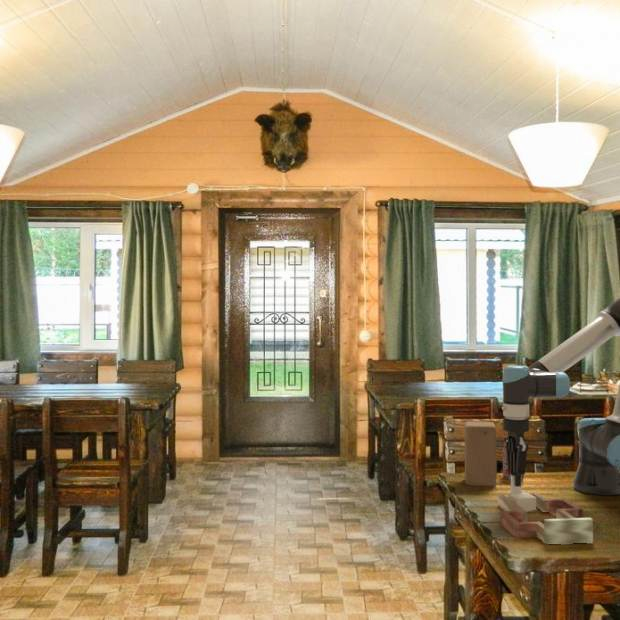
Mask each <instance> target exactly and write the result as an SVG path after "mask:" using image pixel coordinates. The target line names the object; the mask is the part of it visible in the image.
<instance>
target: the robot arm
mask: <svg viewBox="0 0 620 620" xmlns="http://www.w3.org/2000/svg"><path fill="white" fill-rule="evenodd" d="M612 337H620V297H619V298H617V299H616V300H614V301H613V302H612V303H610V304H609V305H607V306H606V307H604V308H603V309H602V310H600V311H599V312H598V314H597V317H596V318H595V319H593V320H592V321H591V322H590V323H588V324H587V325H586V326H584V327H582V328H581V329H580V330H578V331H577V332H575V333H574V334H573V335H572V336H570V337H569V338H568V339H566V340H565V341H563V342H562V343H561V344H559V345H558V346H556V347H555V348H554V349H552V350H550V352H548V353H546V354H545V355H544V356H542V357H541V358H540V359H538V360H537V361H535V362H533V363H532V364H531V365H529V366H527V365H507V366H505V367H504V368H503V371H502V405H503V406H501V410H502V415H503V419H502V429H503V431H505V432H507V436H504V445H505V444H506V454H507V465H508V470H510V473H511V480H510V493H521V492H522V491H523V490H522V475H524V476H525V474H526V465H527V455H528V451H529V444H526V439H525V433H527V432H529V431H530V419H529V418H530V398H531V399H532V398H564V397H565V398H566V397H567V396H568V395H569V393H570V389H571V382H570V377H569V376H568V374H567V373H566V372H565V371H567V370H568V369H569V368H571V367H572V366H574V365H575V364H577V363H578V362H580V361H581V360H582V359H584V358H585V357H586V356H588V355H589V354H590V353H592V352H594V351H596V349H598V348H599V347H600V346H602V345H603V344H604V343H606V342H607V341H609V340H610V339H611V338H612ZM613 407H614V408H613V412H612V414H610V415H608V416H607V417H589V418H588V417H586V418H581V419H580V420H579V424H578V425H579V426H578V466H577V470H576V473H575V475H574V478H573V488H574V490H575V491H578V492H581V493H585V494H590V495H597V496H618V495H620V383H619V386H618V388H617V395H616V399H615V402H614V406H613Z"/></svg>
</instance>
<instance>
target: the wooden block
mask: <svg viewBox="0 0 620 620" xmlns="http://www.w3.org/2000/svg"><path fill="white" fill-rule="evenodd" d="M497 463H498V461H497V427H496V425H495V423H494V422H492V421H474V420H473V421H468V420H467V421H465V423H464V480H465V481H464V482H465V485H466V486H470V487H486V486H491V488H495V487H496V486H497V479H498V478H497V474H498V473H497V472H498V471H497V468H498V467H497Z"/></svg>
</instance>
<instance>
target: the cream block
mask: <svg viewBox="0 0 620 620" xmlns="http://www.w3.org/2000/svg"><path fill="white" fill-rule="evenodd" d="M506 497H508V498H509V499H510V500H512V501H513V502H514V503H516V504H517V505H518V506H520V507H521V508H522V509H524V510H525V511H527V512H533V511H532V510H536V511H537V508H536V497H534V496H532V494H530V493H528V492H525V491H523V492H521V493H511V492H510V493H507V495H506Z"/></svg>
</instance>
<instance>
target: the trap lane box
mask: <svg viewBox="0 0 620 620" xmlns="http://www.w3.org/2000/svg"><path fill="white" fill-rule="evenodd" d="M531 495H532V496H534V497H536V507H537V508H536V509H538V510H539V509H540V510H541V512H542V513H543V512H549V513H548V514H550V515H552V516H553V517H554V518H544V519H543V522H541V521H539V520H538V521H528V511H525V510H524V509H522V508H521V507H520V506H518V505H517V504H516V503H514V502H513V501H512V500H510V499H509V498H508V497H507V495H505V494H504V493H499V494H498V495H497V499H498V500H497V502H498V503H497V507H499V508H500V509H502V510H501V511H500V513H499V515H500V517H499V518H500V522H499V523H500V525H501V526H502V527H503V528H504V529H505V530H507V532H509V533H510V534H511V535H512V536H513V537H514V538H516V539H521V538H522V537H523V538H537V537H538V538H537V539H538V540H540V539H541V540H542V541H543V542H542V541H541V540H540V541H541V542H542V543H544V544H545V543H546V544H561V545H574V544H573V543H587V544H594V519H593V518H592V517H584V509H583V508H581V507H580V506H579V505H577V504H574V502H571V501H570V500H568V499H567V498H546V497H544V496H543V495H542V494H539V493H538V492H532V493H531ZM540 510H539V511H540ZM536 536H537V537H536ZM523 538H522V539H523ZM546 544H545V545H546Z"/></svg>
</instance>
